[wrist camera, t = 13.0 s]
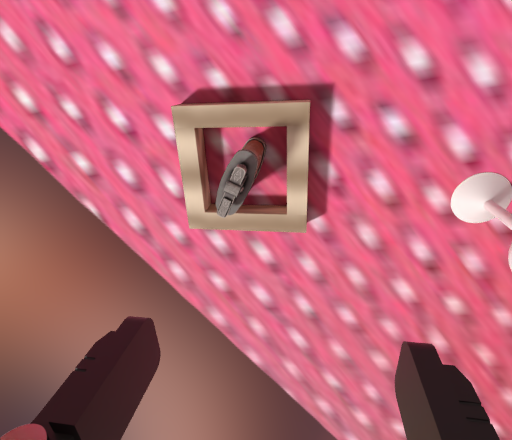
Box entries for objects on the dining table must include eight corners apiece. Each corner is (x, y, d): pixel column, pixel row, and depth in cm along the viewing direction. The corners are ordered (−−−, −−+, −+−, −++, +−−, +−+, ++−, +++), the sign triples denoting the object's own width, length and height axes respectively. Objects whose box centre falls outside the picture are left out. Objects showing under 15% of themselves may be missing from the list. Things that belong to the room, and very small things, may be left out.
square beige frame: (180, 103, 39) (171, 106, 36) (310, 99, 36) (310, 101, 34) (196, 219, 46) (189, 228, 43) (306, 222, 43) (306, 232, 40)
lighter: (247, 132, 39) (228, 150, 30) (272, 143, 39) (260, 165, 30) (225, 186, 43) (202, 217, 34) (247, 197, 43) (231, 230, 34)
